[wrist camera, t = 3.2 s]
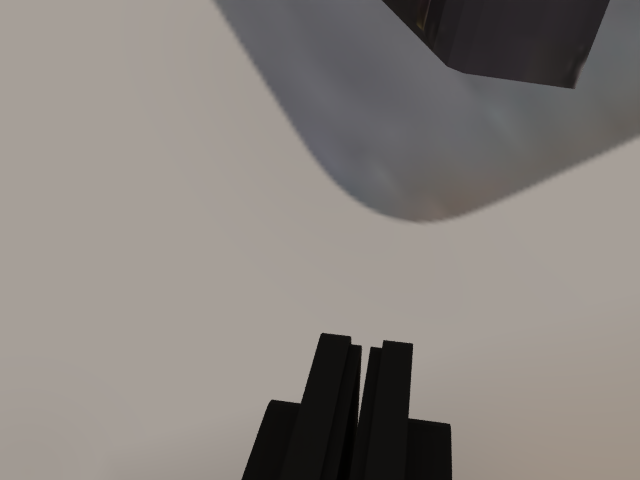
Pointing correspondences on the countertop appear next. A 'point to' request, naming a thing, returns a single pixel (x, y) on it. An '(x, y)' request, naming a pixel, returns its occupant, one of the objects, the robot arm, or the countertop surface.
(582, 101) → the countertop surface
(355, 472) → the robot arm
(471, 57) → the picture frame
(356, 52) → the countertop surface
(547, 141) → the countertop surface
